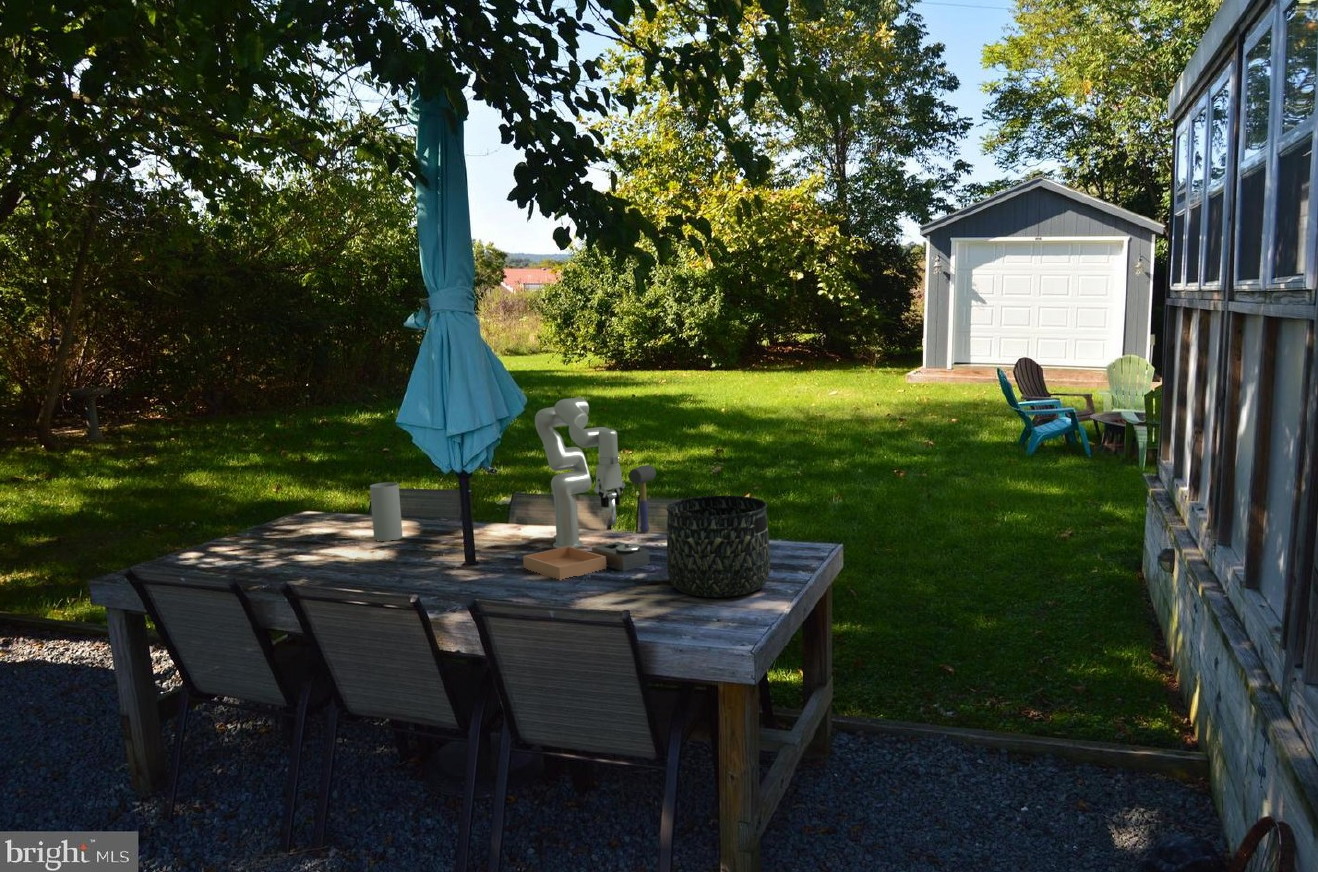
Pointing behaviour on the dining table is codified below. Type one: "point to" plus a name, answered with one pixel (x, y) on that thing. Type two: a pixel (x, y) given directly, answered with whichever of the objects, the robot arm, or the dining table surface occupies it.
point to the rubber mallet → (643, 490)
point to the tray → (564, 562)
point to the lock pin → (611, 508)
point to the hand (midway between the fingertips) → (610, 505)
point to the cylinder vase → (386, 511)
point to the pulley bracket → (623, 555)
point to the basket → (718, 545)
